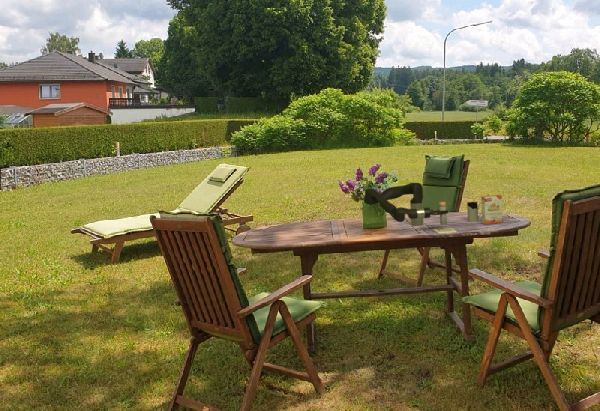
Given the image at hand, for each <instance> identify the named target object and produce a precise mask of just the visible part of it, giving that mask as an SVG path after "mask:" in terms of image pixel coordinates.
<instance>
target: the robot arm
mask: <svg viewBox="0 0 600 411" xmlns="http://www.w3.org/2000/svg"><path fill="white" fill-rule="evenodd" d="M405 195H413V197H412V199H411V198H410V201H409V203H410V205H409V206H410V208H406V207H401V206H400V207H397V206H396V205H394V204H393V203H392V202H390V200H395V199H399V198H401V197H402V196H405ZM423 199H424V186H423V185H422V183H419V182H410V183H408V184H404V185H397V186H396V185H395V186H391V187H388V188H386V189H384V190H383V191H382V192H381V193H380V192H378V190H376V189H374V188H367V189H366V190H365V193H364V198H363V201H364V204H366V205H371V206H372V205H375V204H379V205H380V207H381V209H382V210H384V211H385V212H386V213H388V214H389V215H390V217H392V219H394V221H396V222H398V223H402V222H404V221H405V219H406V215H407V216H408V218H409V220H410V222H411V226H424V219H431V216H440V215H442V214H446V215H447V214H449V210H448V209H446V210H444V211H442V210H441V211H440V208H439V209H438V208H437V209H435V208H434V209H431V208H430V207H423ZM440 212H441V213H440Z"/></svg>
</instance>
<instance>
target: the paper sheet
mask: <svg viewBox="0 0 600 411" xmlns="http://www.w3.org/2000/svg"><path fill="white" fill-rule="evenodd" d="M432 231H433V232H435V233H437V234H438V233H440V234H453V233H457V230H456V229H454V228H452V227H441V228H433V229H432Z"/></svg>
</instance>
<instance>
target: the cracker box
mask: <svg viewBox="0 0 600 411" xmlns="http://www.w3.org/2000/svg"><path fill="white" fill-rule="evenodd" d="M480 198H481V199H480V203H481V204H480V206H481V213H482V214H481V223H482V225H491V224H492V225H493V224H503V202H502V201H503V196H502V195H501V194H500V195H499V194H495V195H493V194H492V195H481V196H480Z"/></svg>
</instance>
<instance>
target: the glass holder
mask: <svg viewBox="0 0 600 411" xmlns="http://www.w3.org/2000/svg"><path fill="white" fill-rule="evenodd" d="M466 205H467V210H466V212H467V221H466V222H467V223H479V222H480V220H479V218H480V216H482V212H481V213H480V214H479V209H480V207H479V206H481V202H480V203H479V204H478V202H477V201H469V202H467V204H466Z"/></svg>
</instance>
